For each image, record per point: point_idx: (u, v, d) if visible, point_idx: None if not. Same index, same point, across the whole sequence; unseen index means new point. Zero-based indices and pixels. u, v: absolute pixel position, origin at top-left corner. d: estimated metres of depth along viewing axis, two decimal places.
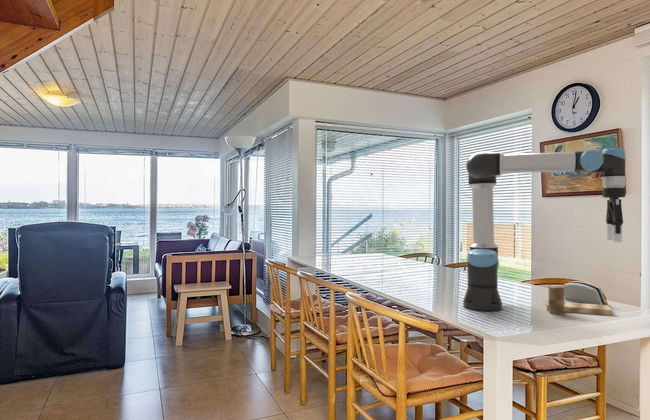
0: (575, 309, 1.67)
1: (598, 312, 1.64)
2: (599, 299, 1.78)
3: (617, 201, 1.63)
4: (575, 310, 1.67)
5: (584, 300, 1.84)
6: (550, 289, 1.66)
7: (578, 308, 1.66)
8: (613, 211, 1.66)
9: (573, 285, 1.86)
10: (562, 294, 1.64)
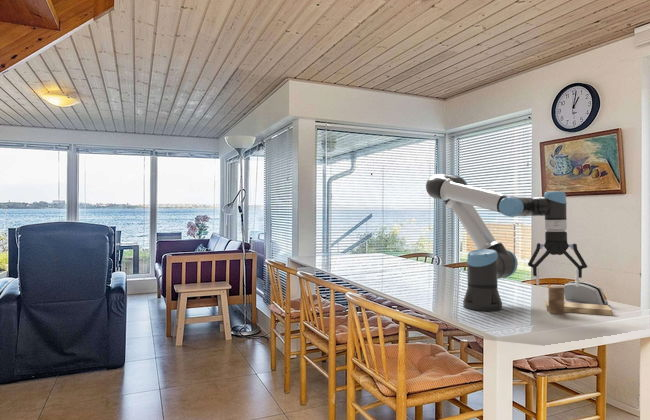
0: (575, 309, 1.67)
1: (598, 312, 1.64)
2: (600, 299, 1.78)
3: (536, 245, 1.70)
4: (575, 310, 1.67)
5: (585, 300, 1.84)
6: (550, 289, 1.66)
7: (578, 308, 1.66)
8: (543, 254, 1.69)
9: (573, 285, 1.86)
10: (562, 294, 1.64)
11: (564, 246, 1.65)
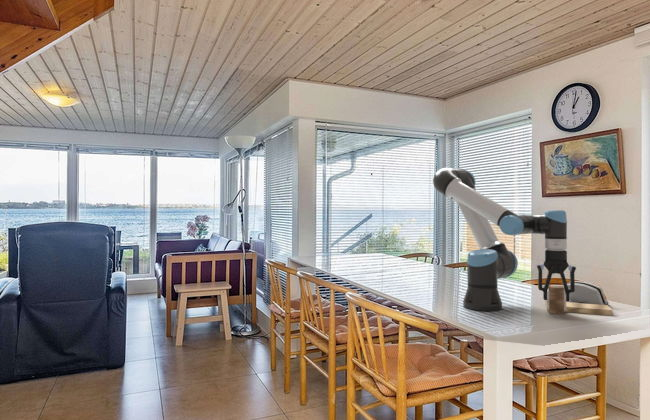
0: (575, 309, 1.67)
1: (598, 312, 1.64)
2: (600, 299, 1.78)
3: (537, 267, 1.70)
4: (575, 310, 1.67)
5: (585, 300, 1.83)
6: (550, 289, 1.66)
7: (578, 308, 1.66)
8: (547, 276, 1.69)
9: None
10: (562, 294, 1.64)
11: (564, 265, 1.65)
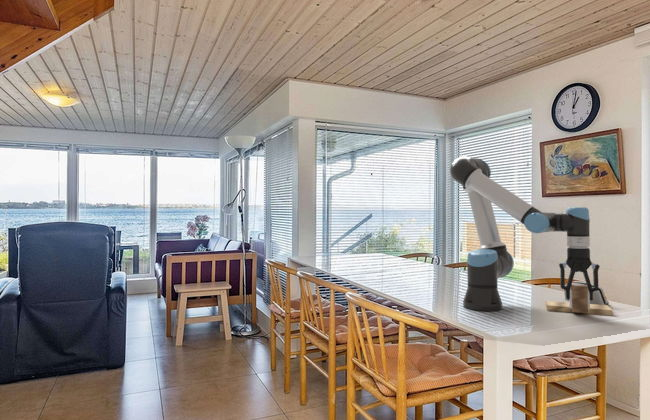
0: None
1: (598, 312, 1.64)
2: (601, 299, 1.77)
3: (559, 265, 1.66)
4: None
5: None
6: (573, 288, 1.63)
7: None
8: None
9: None
10: (585, 293, 1.61)
11: (587, 263, 1.62)
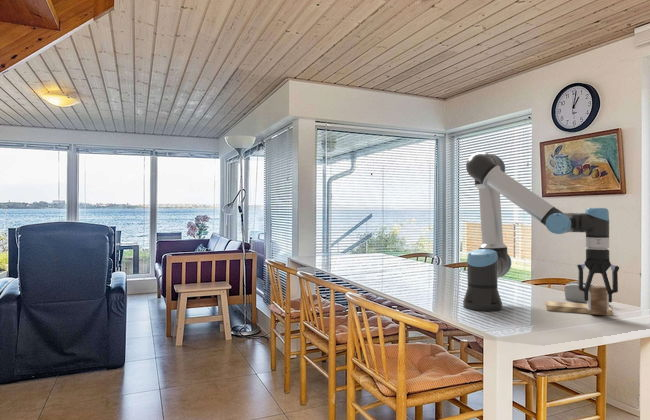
0: (575, 309, 1.67)
1: None
2: None
3: None
4: (575, 310, 1.67)
5: None
6: (592, 289, 1.61)
7: (578, 308, 1.66)
8: (588, 275, 1.64)
9: (575, 285, 1.85)
10: (605, 294, 1.59)
11: (606, 264, 1.59)
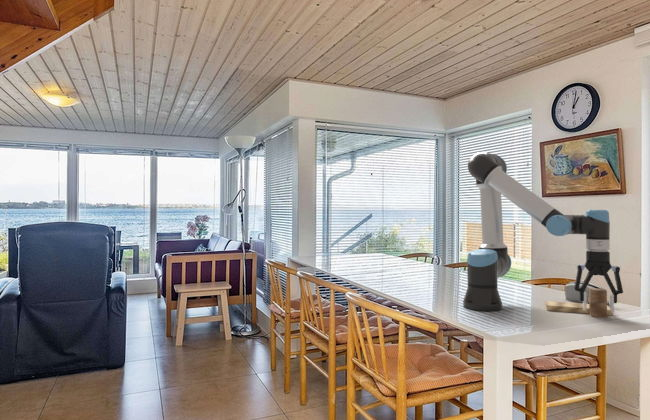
0: (575, 309, 1.67)
1: None
2: None
3: (577, 267, 1.64)
4: (575, 310, 1.67)
5: (586, 300, 1.83)
6: (592, 292, 1.61)
7: (578, 308, 1.66)
8: (586, 276, 1.64)
9: None
10: (605, 297, 1.59)
11: (606, 266, 1.59)
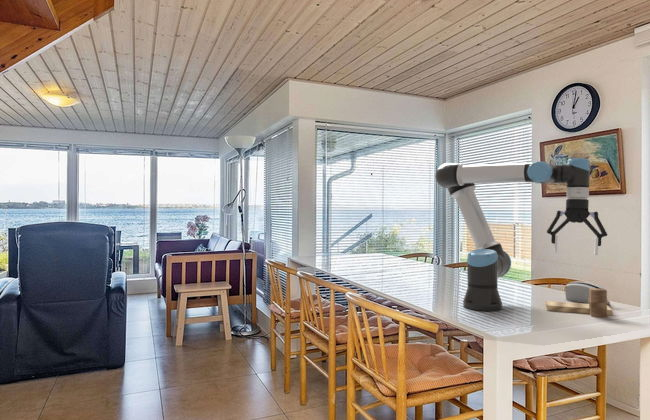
0: (575, 309, 1.67)
1: None
2: None
3: None
4: (575, 310, 1.67)
5: (587, 300, 1.83)
6: (592, 292, 1.61)
7: (578, 308, 1.66)
8: (562, 222, 1.69)
9: (575, 285, 1.85)
10: (605, 297, 1.59)
11: (585, 214, 1.64)
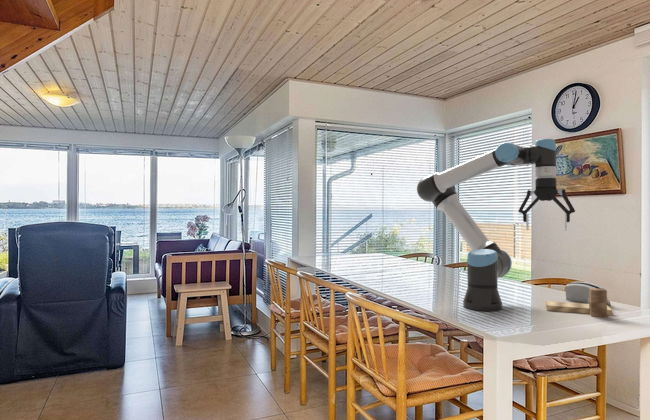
0: (575, 309, 1.67)
1: None
2: None
3: (527, 192, 1.75)
4: (575, 310, 1.67)
5: (587, 300, 1.82)
6: (592, 292, 1.61)
7: (578, 308, 1.66)
8: None
9: (576, 286, 1.85)
10: (605, 297, 1.59)
11: (553, 192, 1.71)
